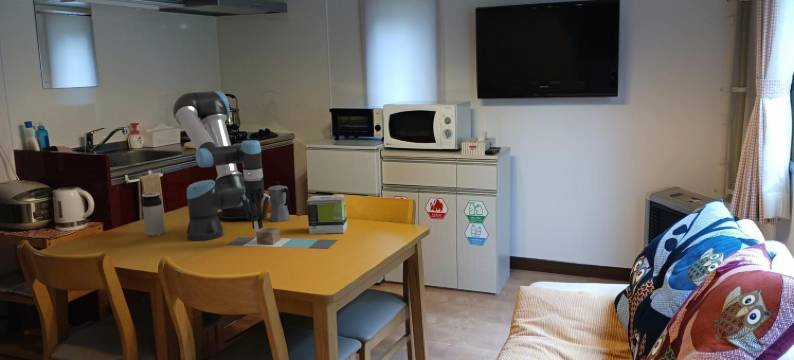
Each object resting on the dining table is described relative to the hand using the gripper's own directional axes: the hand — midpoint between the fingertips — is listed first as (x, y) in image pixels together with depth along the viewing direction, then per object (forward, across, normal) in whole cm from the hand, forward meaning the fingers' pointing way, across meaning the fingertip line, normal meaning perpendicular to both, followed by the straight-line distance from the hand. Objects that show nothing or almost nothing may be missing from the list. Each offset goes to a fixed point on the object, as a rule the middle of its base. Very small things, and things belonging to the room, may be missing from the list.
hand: (258, 236), depth 269 cm
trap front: (+3, +28, +1) cm, 28 cm away
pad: (+3, +18, 0) cm, 18 cm away
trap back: (+3, -8, 0) cm, 9 cm away
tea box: (+3, +22, +21) cm, 31 cm away
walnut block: (+3, +4, 0) cm, 5 cm away
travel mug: (+2, -53, +8) cm, 54 cm away
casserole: (+3, -30, +40) cm, 50 cm away
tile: (+3, +4, 0) cm, 5 cm away
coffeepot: (+3, -7, +37) cm, 38 cm away
